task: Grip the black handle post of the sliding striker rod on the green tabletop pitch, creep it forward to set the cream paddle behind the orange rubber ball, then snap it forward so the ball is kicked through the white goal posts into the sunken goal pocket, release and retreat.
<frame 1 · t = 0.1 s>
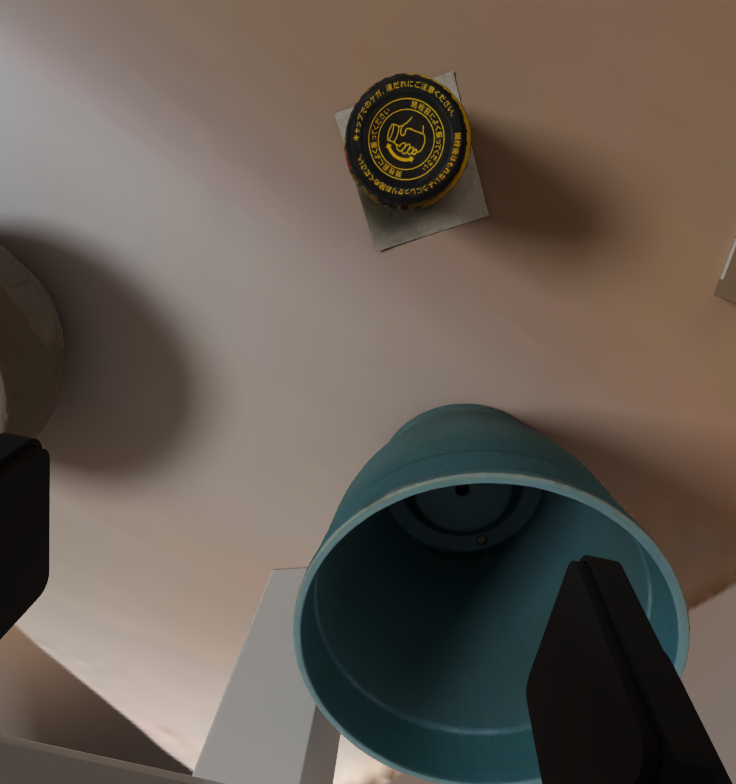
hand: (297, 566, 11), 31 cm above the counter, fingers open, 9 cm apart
condiment: (413, 165, 38), on the counter
milk: (315, 596, 49), on the counter
flower pot: (464, 477, 45), on the counter
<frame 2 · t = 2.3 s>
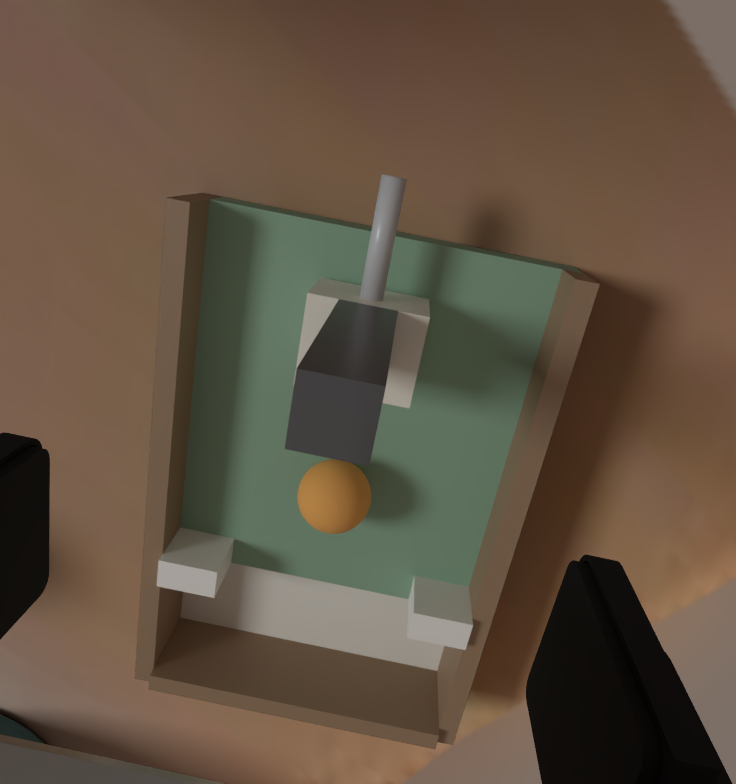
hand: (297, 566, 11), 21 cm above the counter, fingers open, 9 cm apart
striker: (364, 308, 22), point 9 cm above the counter, slide at 0.0 cm
ball: (334, 496, 30), point 4 cm above the counter, touching pitch
pitch: (342, 469, 34), on the counter
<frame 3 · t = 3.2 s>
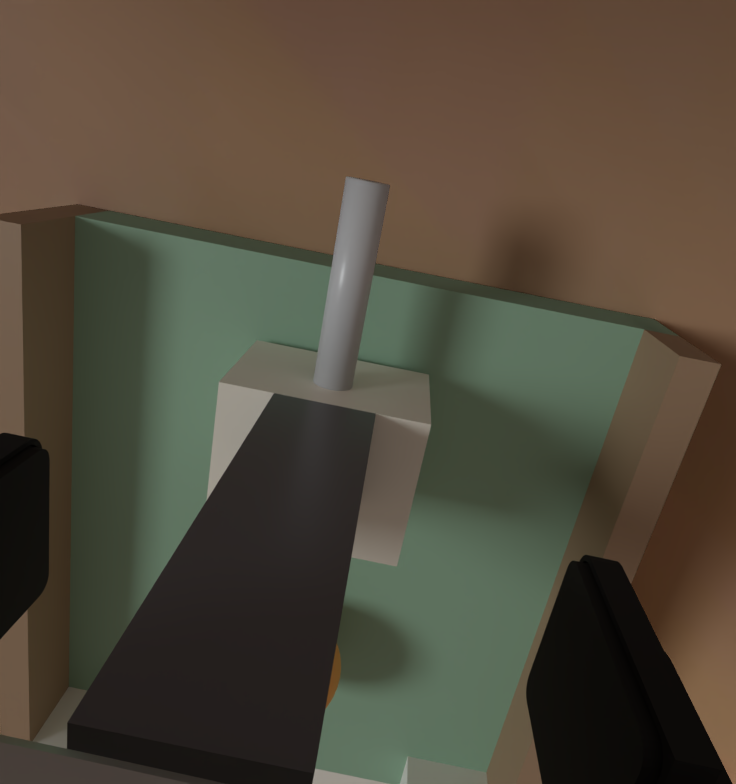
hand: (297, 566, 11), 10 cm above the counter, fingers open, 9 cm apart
striker: (308, 433, 12), point 9 cm above the counter, slide at 0.0 cm
ball: (284, 666, 20), point 4 cm above the counter, touching pitch
pitch: (303, 600, 24), on the counter
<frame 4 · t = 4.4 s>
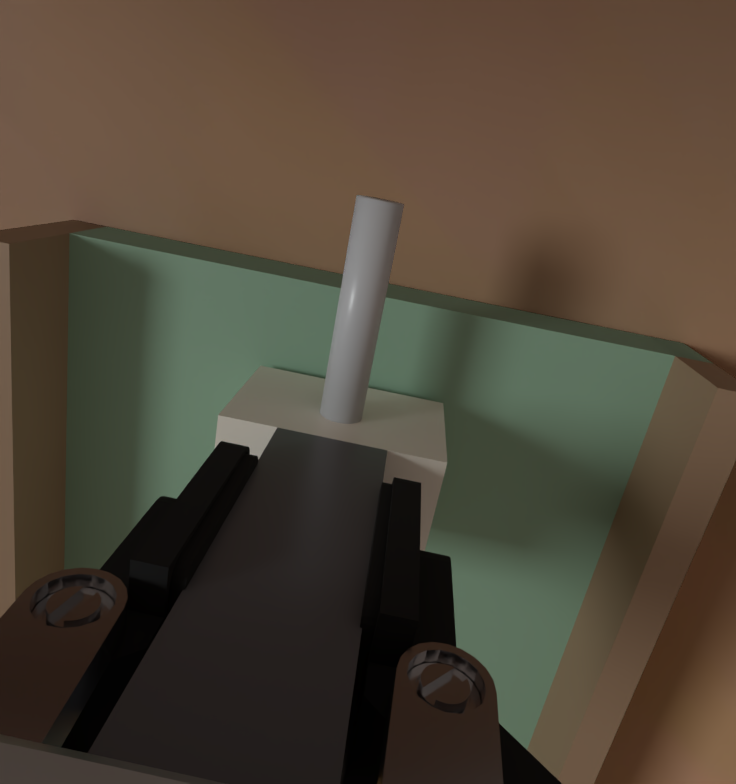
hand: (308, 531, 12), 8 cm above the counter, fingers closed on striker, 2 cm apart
striker: (313, 479, 11), point 9 cm above the counter, slide at 0.0 cm, touching gripper
pitch: (308, 634, 22), on the counter
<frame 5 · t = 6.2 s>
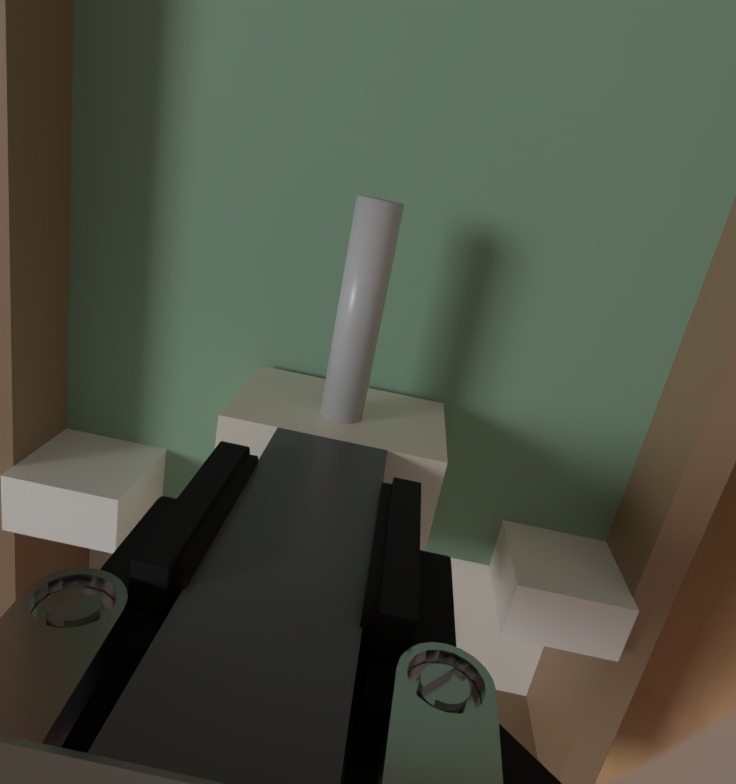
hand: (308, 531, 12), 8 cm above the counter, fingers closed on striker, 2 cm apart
striker: (314, 479, 11), point 9 cm above the counter, slide at 11.8 cm, touching gripper
pitch: (367, 323, 18), on the counter
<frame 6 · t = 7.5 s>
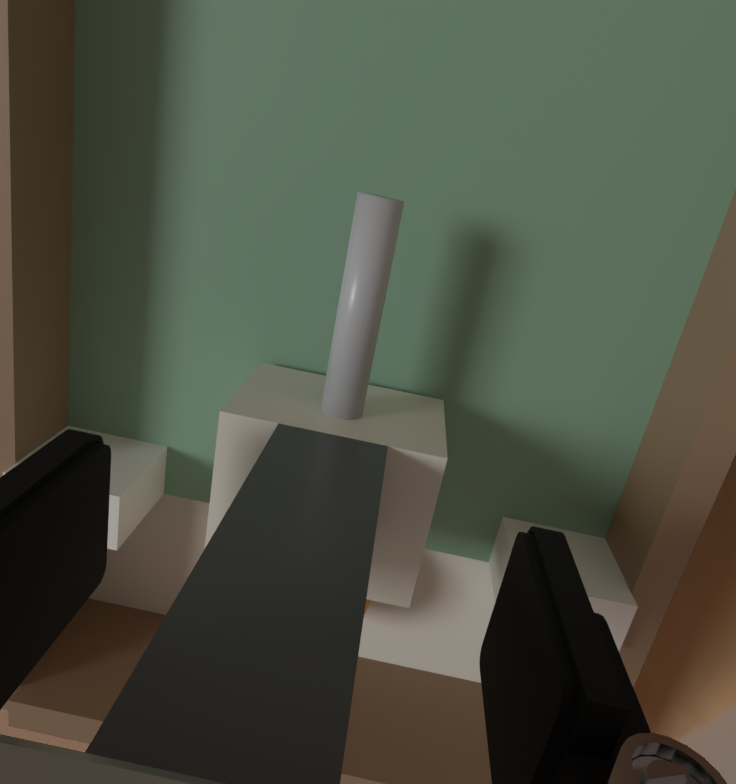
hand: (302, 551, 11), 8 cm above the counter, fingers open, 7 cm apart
striker: (315, 474, 11), point 9 cm above the counter, slide at 11.7 cm
pitch: (367, 320, 18), on the counter
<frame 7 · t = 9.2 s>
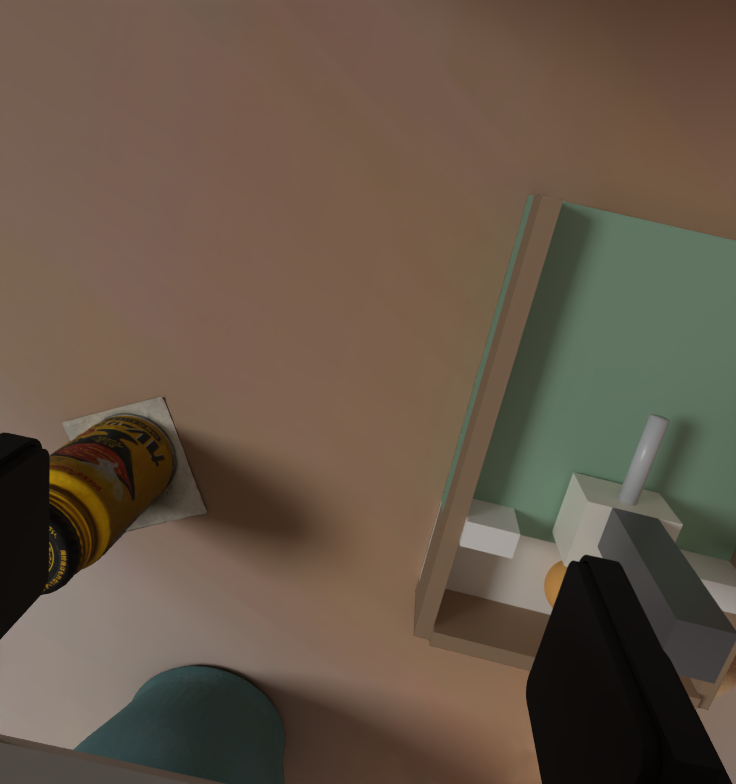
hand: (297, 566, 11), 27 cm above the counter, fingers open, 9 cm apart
condiment: (138, 465, 41), on the counter
striker: (656, 532, 29), point 9 cm above the counter, slide at 11.7 cm
ball: (574, 588, 38), point 2 cm above the counter, tilted 101°, touching pitch
flower pot: (213, 723, 47), on the counter
pitch: (611, 449, 37), on the counter
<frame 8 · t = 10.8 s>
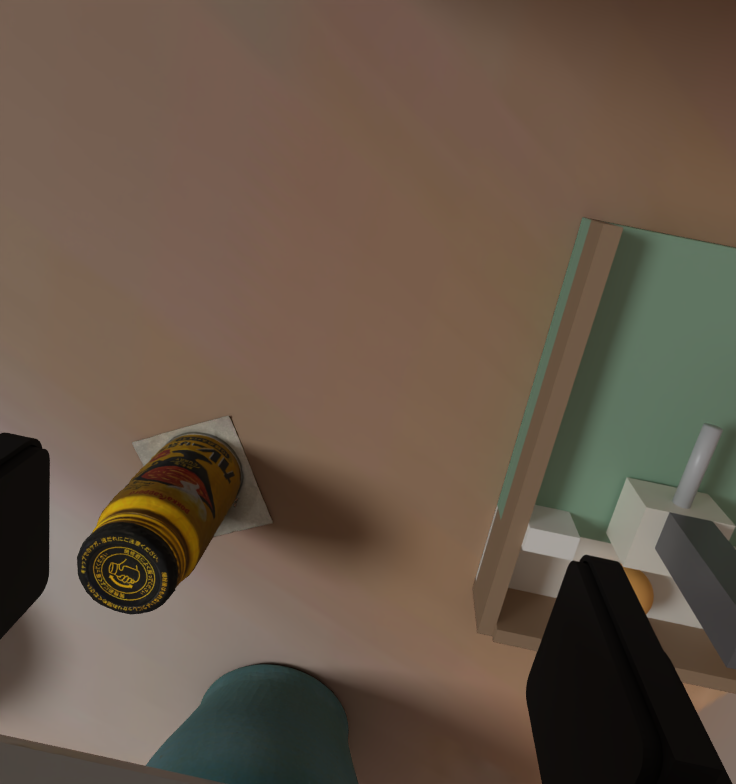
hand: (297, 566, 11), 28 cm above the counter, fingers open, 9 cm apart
condiment: (205, 480, 43), on the counter
striker: (715, 536, 32), point 9 cm above the counter, slide at 11.7 cm
ball: (623, 592, 41), point 2 cm above the counter, tilted 80°, touching pitch
flower pot: (278, 716, 50), on the counter
pitch: (660, 452, 39), on the counter
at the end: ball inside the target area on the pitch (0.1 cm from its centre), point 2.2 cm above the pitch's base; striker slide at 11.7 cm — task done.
